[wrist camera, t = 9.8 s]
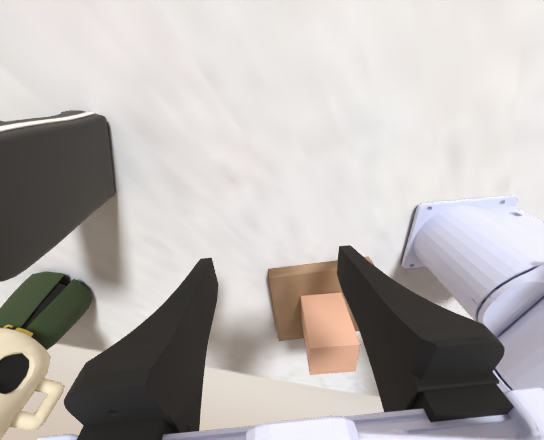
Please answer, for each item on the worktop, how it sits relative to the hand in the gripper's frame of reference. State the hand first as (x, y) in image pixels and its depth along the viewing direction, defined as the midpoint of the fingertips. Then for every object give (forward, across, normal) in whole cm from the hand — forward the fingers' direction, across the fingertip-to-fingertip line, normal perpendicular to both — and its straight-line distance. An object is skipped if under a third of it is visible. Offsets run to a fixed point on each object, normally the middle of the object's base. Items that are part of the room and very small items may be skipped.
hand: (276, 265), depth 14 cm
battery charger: (+10, +14, -5) cm, 18 cm away
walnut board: (+10, -5, +14) cm, 18 cm away
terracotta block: (+8, -5, +14) cm, 17 cm away
